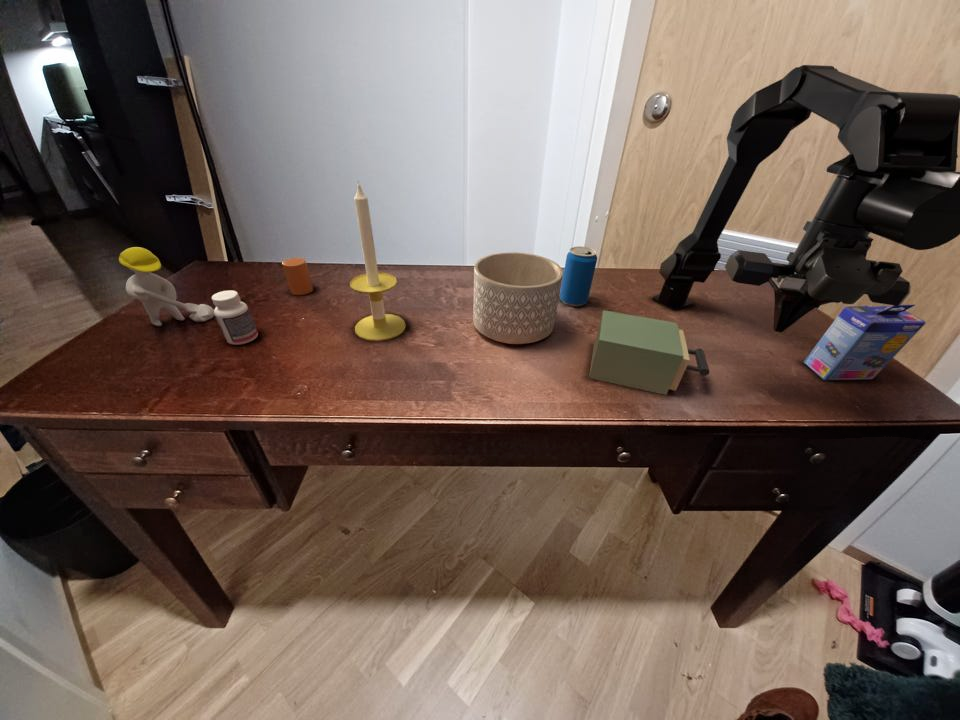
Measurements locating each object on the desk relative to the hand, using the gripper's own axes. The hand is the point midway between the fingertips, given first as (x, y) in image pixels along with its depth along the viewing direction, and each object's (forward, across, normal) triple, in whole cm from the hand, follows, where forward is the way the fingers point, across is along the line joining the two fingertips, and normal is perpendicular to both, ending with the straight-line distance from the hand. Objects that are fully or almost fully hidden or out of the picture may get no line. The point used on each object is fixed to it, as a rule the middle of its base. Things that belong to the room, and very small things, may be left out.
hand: (777, 330), depth 53 cm
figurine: (+12, -103, -16) cm, 105 cm away
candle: (+12, -66, -4) cm, 67 cm away
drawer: (+11, -14, 0) cm, 18 cm away
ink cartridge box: (+12, +18, +13) cm, 26 cm away
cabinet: (+12, -18, 0) cm, 22 cm away
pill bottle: (+12, -87, -16) cm, 90 cm away
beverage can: (+12, -30, +23) cm, 40 cm away
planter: (+12, -41, +6) cm, 43 cm away
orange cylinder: (+12, -91, +4) cm, 92 cm away
